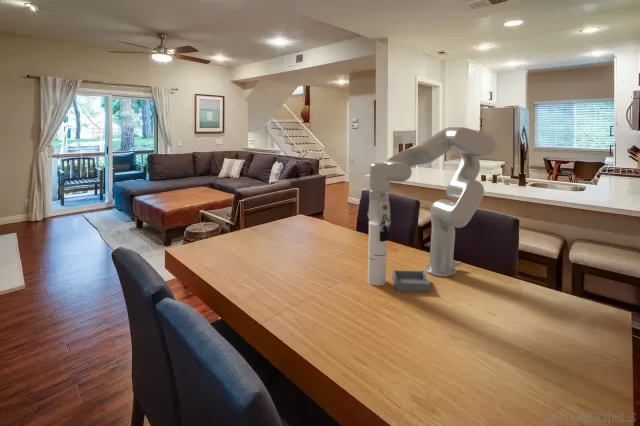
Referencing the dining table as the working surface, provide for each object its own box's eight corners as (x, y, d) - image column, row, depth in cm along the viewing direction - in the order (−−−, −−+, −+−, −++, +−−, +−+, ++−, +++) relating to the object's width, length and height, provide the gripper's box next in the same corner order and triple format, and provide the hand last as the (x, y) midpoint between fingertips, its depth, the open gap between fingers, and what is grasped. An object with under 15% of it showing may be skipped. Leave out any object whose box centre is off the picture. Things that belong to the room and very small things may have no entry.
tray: (423, 278, 150) (423, 271, 149) (429, 292, 138) (429, 283, 137) (392, 278, 151) (392, 270, 150) (395, 291, 139) (396, 282, 138)
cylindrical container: (385, 286, 143) (387, 225, 138) (367, 284, 145) (368, 224, 139) (385, 279, 150) (387, 220, 144) (368, 277, 152) (369, 220, 146)
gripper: (399, 198, 133) (397, 242, 137) (377, 190, 149) (376, 230, 153) (381, 199, 130) (379, 244, 134) (360, 192, 146) (359, 232, 150)
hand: (377, 237), depth 143 cm, fingers open, 9 cm apart
